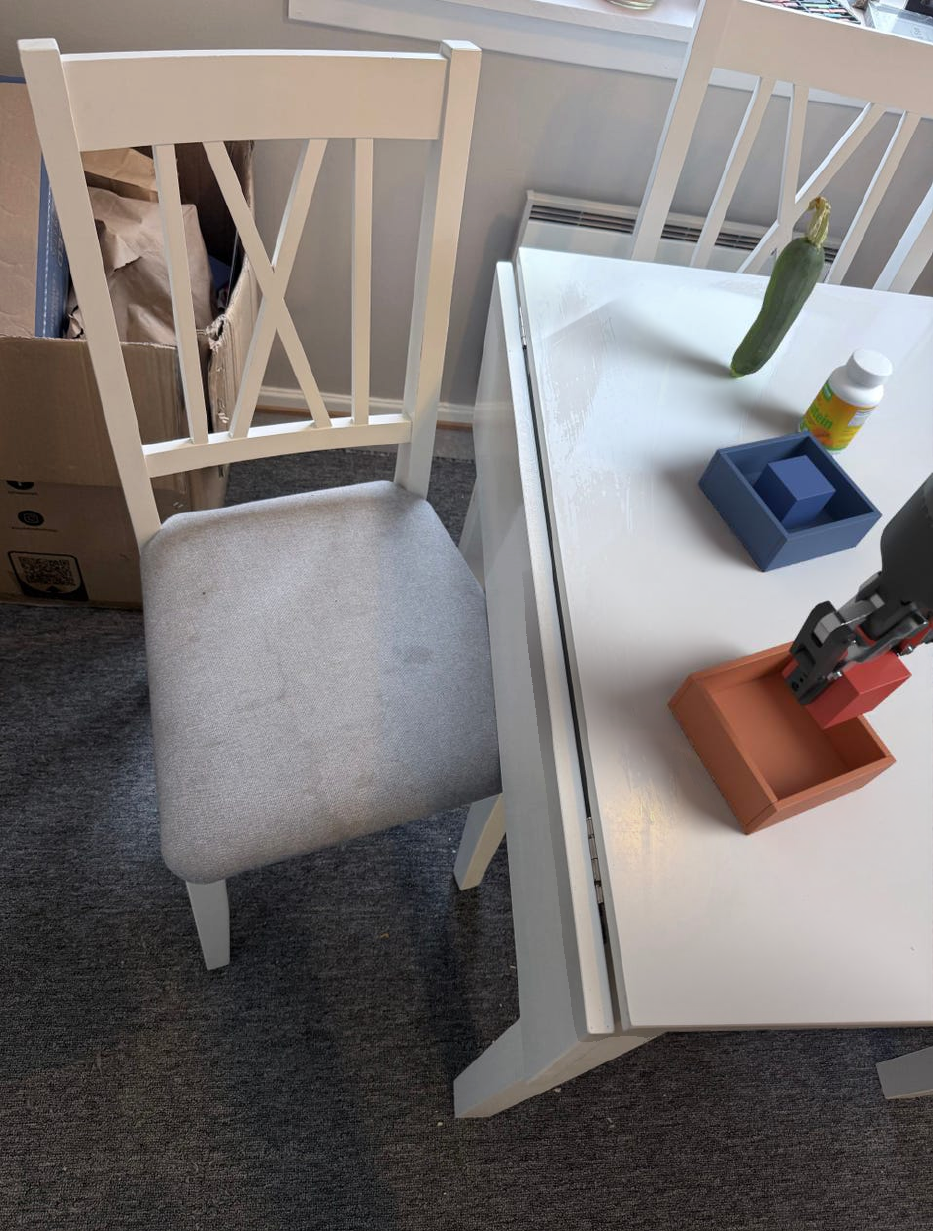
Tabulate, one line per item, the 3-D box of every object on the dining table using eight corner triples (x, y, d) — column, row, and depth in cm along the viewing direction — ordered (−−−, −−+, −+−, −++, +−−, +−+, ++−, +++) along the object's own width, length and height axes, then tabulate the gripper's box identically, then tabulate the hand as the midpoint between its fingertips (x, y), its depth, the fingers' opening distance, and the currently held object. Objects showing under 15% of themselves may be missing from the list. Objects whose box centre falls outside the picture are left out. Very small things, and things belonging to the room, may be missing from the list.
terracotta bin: (863, 787, 64) (897, 761, 60) (747, 835, 60) (777, 811, 56) (778, 666, 69) (805, 636, 65) (667, 704, 65) (689, 673, 61)
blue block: (810, 524, 79) (836, 490, 75) (772, 534, 77) (797, 499, 74) (782, 489, 81) (805, 454, 77) (745, 498, 79) (767, 463, 76)
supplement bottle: (786, 423, 88) (834, 346, 80) (825, 416, 90) (875, 340, 82) (816, 459, 85) (869, 383, 78) (855, 451, 87) (911, 376, 80)
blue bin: (856, 547, 79) (883, 514, 75) (763, 572, 75) (787, 540, 71) (787, 463, 84) (809, 430, 81) (697, 483, 80) (716, 449, 77)
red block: (872, 710, 57) (912, 674, 53) (821, 730, 55) (859, 694, 51) (831, 655, 59) (867, 617, 55) (780, 673, 57) (814, 635, 54)
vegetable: (764, 384, 92) (865, 207, 76) (744, 399, 89) (844, 221, 73) (732, 362, 93) (824, 184, 77) (711, 376, 91) (802, 196, 75)
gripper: (949, 603, 39) (776, 762, 52) (1139, 540, 44) (936, 700, 58) (849, 487, 42) (711, 664, 56) (1036, 441, 47) (868, 614, 61)
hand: (826, 682), depth 57 cm, fingers closed on red block, 4 cm apart
